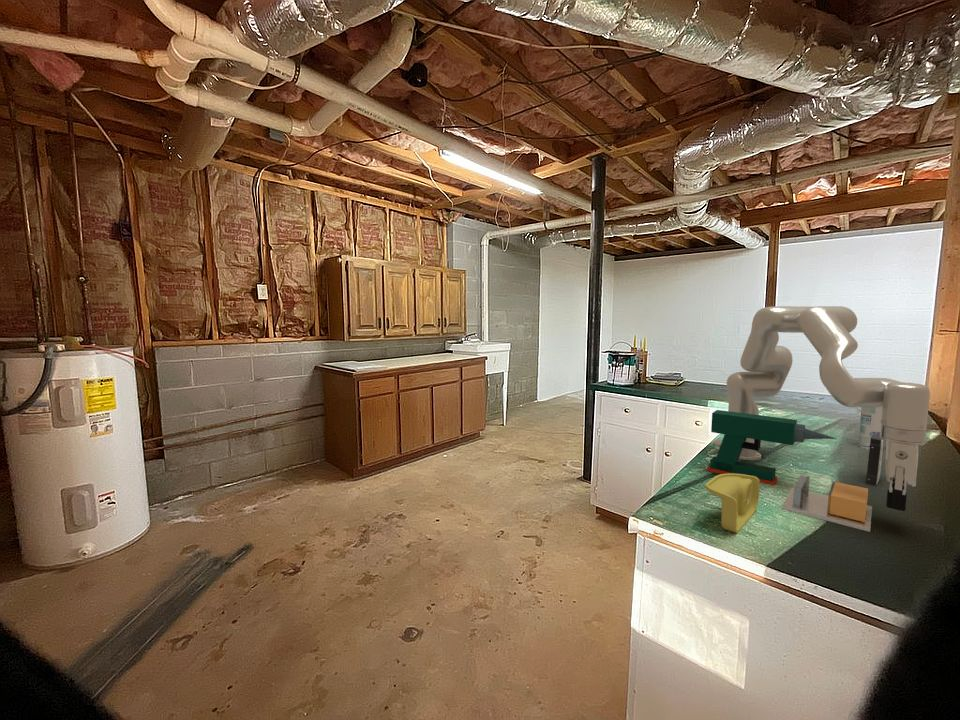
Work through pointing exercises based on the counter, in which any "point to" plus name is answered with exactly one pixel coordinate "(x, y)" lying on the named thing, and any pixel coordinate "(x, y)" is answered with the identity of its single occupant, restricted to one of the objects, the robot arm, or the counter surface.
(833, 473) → the counter surface
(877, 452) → the disk drive
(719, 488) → the plastic component
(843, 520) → the vise base
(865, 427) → the tall white carton
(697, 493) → the counter surface
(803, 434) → the power tool
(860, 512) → the block
